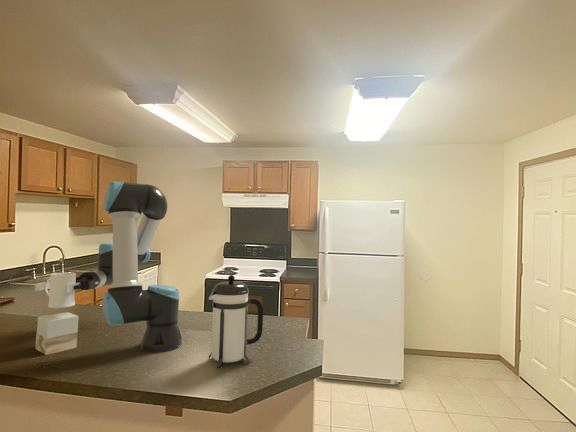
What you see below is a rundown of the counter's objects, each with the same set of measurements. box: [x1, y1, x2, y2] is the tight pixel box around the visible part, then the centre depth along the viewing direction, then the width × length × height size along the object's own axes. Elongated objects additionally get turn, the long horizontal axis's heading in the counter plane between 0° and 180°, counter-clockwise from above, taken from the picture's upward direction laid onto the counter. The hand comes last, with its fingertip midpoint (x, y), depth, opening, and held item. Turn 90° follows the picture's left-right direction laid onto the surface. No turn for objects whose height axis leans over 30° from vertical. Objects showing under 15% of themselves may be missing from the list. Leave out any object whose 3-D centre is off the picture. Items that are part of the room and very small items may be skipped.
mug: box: [44, 271, 77, 309], centre depth 127 cm, size 12×8×12 cm
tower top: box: [36, 311, 80, 338], centre depth 126 cm, size 10×10×6 cm
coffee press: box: [208, 274, 264, 369], centre depth 119 cm, size 17×16×30 cm
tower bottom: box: [34, 332, 78, 356], centre depth 126 cm, size 10×10×6 cm
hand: (50, 288), depth 123 cm, fingers closed on mug, 11 cm apart
